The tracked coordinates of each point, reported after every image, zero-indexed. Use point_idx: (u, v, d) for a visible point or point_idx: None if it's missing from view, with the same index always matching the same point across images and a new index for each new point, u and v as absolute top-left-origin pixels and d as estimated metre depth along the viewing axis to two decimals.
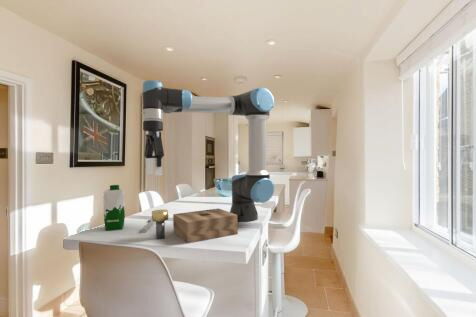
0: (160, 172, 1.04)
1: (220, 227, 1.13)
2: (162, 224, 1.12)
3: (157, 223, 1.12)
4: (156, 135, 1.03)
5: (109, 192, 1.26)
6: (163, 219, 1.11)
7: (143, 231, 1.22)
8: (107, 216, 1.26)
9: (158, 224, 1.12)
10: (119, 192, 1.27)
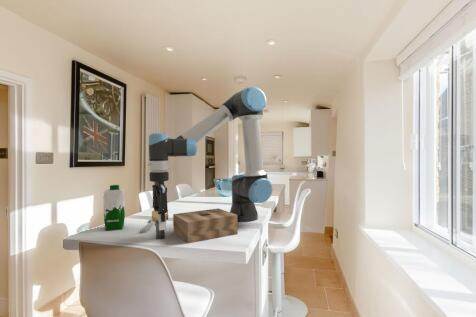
0: (164, 226, 1.10)
1: (220, 227, 1.13)
2: None
3: (157, 223, 1.12)
4: (162, 191, 1.07)
5: (109, 192, 1.26)
6: None
7: (143, 231, 1.21)
8: (107, 216, 1.26)
9: (158, 224, 1.12)
10: (119, 192, 1.27)
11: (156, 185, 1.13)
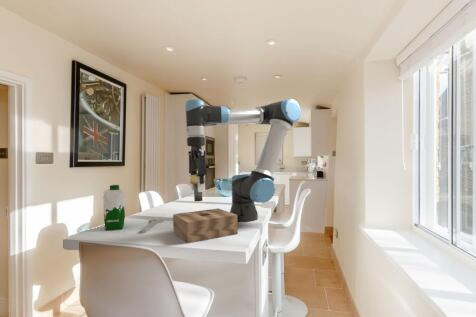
0: (203, 188, 1.15)
1: (220, 227, 1.13)
2: None
3: (195, 186, 1.17)
4: (201, 154, 1.12)
5: (109, 192, 1.26)
6: None
7: (142, 232, 1.21)
8: (107, 216, 1.26)
9: (196, 187, 1.17)
10: (119, 192, 1.27)
11: (193, 150, 1.17)
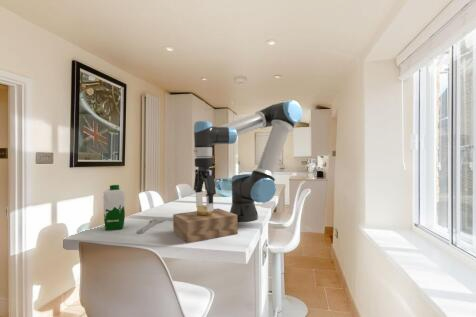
0: (211, 208, 1.14)
1: (220, 227, 1.13)
2: None
3: None
4: (209, 174, 1.13)
5: (109, 192, 1.26)
6: (208, 214, 1.17)
7: (140, 232, 1.20)
8: (107, 216, 1.26)
9: None
10: (119, 192, 1.27)
11: (201, 170, 1.18)
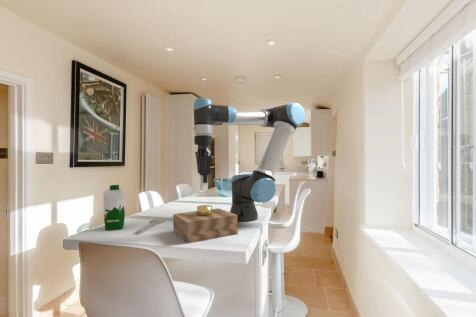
0: (206, 187, 1.19)
1: (220, 227, 1.13)
2: None
3: None
4: (207, 155, 1.14)
5: (109, 192, 1.26)
6: (208, 214, 1.17)
7: (138, 233, 1.20)
8: (107, 216, 1.26)
9: None
10: (119, 192, 1.27)
11: (200, 148, 1.18)
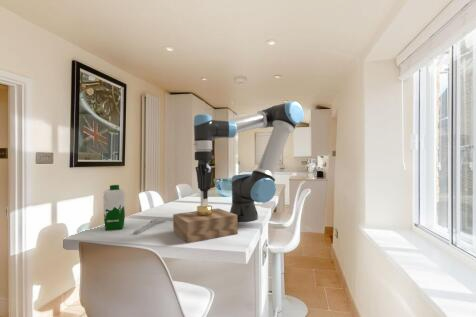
0: (206, 203, 1.19)
1: (220, 227, 1.13)
2: None
3: None
4: (208, 171, 1.14)
5: (109, 192, 1.26)
6: (208, 214, 1.17)
7: (136, 233, 1.19)
8: (107, 216, 1.26)
9: None
10: (119, 192, 1.27)
11: (201, 164, 1.18)
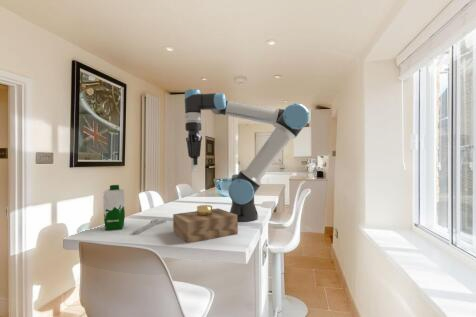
0: (196, 169, 1.33)
1: (220, 227, 1.13)
2: None
3: None
4: (198, 139, 1.28)
5: (108, 192, 1.26)
6: (208, 214, 1.17)
7: (135, 233, 1.19)
8: (107, 216, 1.26)
9: None
10: (119, 192, 1.27)
11: (191, 134, 1.32)
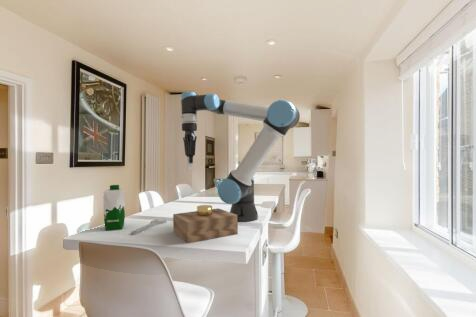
0: (192, 167, 1.41)
1: (220, 227, 1.13)
2: None
3: None
4: (192, 139, 1.36)
5: (109, 192, 1.26)
6: (208, 214, 1.17)
7: (133, 233, 1.19)
8: (107, 216, 1.26)
9: None
10: (119, 192, 1.27)
11: (187, 134, 1.40)
